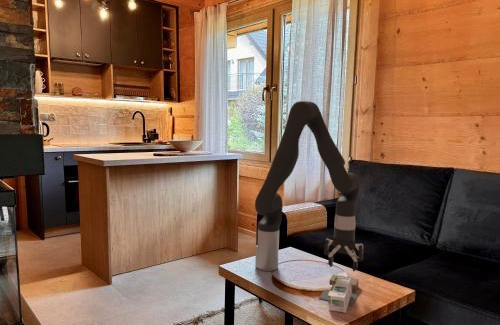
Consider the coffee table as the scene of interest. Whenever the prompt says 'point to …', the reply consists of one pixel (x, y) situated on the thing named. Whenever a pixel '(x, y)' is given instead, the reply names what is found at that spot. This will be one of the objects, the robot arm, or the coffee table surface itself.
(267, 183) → the robot arm
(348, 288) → the syrup box
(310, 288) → the coffee table surface
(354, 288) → the step block
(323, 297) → the mat
